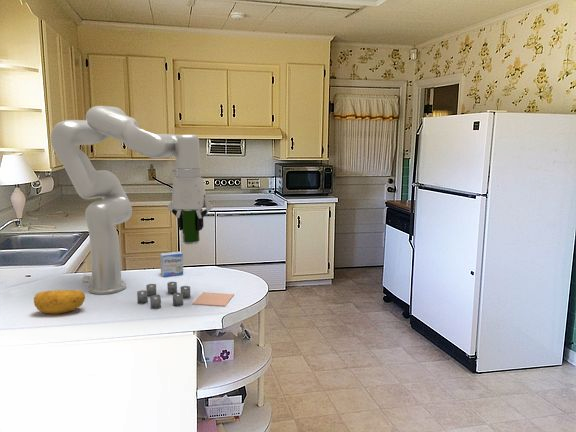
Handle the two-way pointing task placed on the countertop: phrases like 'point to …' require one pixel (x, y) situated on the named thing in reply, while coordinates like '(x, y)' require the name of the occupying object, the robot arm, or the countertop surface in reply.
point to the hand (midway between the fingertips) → (190, 229)
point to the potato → (58, 301)
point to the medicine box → (171, 264)
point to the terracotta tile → (213, 299)
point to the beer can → (190, 227)
